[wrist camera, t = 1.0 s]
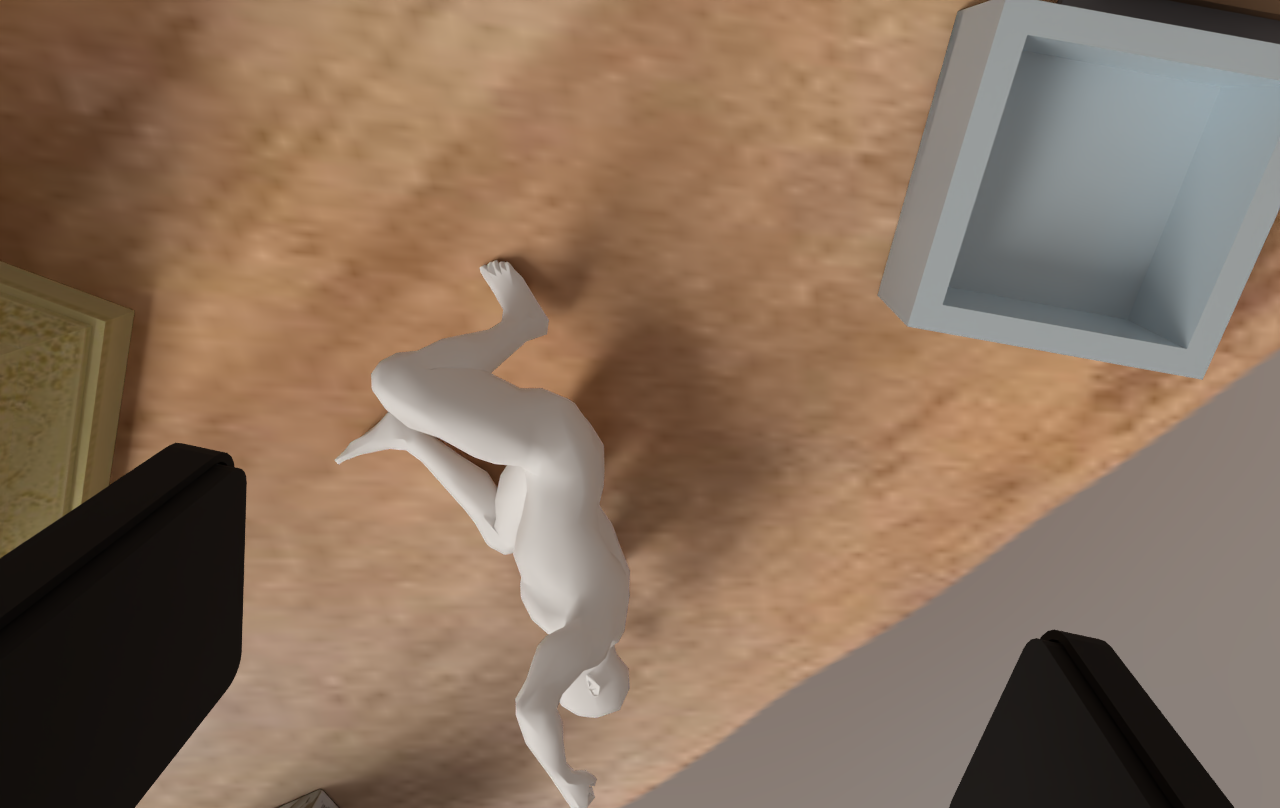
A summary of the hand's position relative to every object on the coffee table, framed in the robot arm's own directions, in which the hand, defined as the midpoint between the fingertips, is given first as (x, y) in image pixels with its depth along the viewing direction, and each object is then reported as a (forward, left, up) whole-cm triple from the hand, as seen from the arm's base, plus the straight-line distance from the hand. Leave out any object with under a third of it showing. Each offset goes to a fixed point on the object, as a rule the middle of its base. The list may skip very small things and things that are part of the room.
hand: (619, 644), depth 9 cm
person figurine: (+11, -4, -26) cm, 29 cm away
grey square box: (-5, +14, -26) cm, 30 cm away
